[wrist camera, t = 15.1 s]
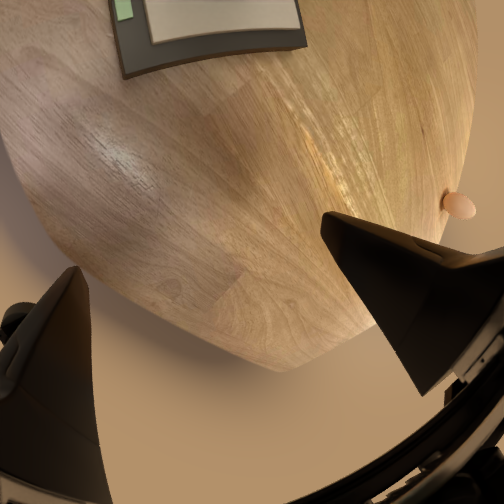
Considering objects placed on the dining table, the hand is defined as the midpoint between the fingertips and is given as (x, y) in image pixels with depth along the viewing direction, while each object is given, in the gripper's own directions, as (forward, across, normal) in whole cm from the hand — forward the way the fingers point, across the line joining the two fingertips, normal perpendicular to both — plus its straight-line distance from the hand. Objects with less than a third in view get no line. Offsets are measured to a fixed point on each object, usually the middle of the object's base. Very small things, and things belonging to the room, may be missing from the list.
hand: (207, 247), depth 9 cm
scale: (+14, -3, -14) cm, 20 cm away
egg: (+18, -47, +12) cm, 52 cm away
